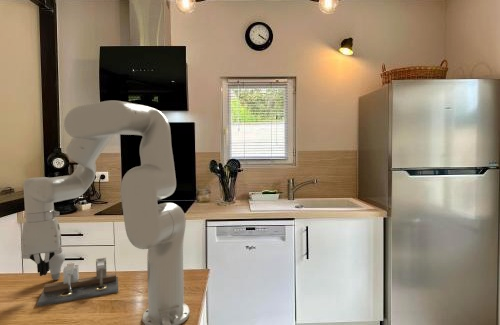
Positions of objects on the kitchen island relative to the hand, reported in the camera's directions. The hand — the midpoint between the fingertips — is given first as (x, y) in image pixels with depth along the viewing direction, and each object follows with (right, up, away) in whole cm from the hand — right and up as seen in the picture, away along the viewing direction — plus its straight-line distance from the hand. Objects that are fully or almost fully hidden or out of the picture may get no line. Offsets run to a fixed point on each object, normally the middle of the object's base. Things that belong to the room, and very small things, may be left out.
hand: (43, 273), depth 99 cm
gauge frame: (+10, -5, +3) cm, 12 cm away
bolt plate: (+11, -7, +2) cm, 13 cm away
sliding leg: (+7, -5, +2) cm, 9 cm away
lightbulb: (-3, -6, +11) cm, 14 cm away
